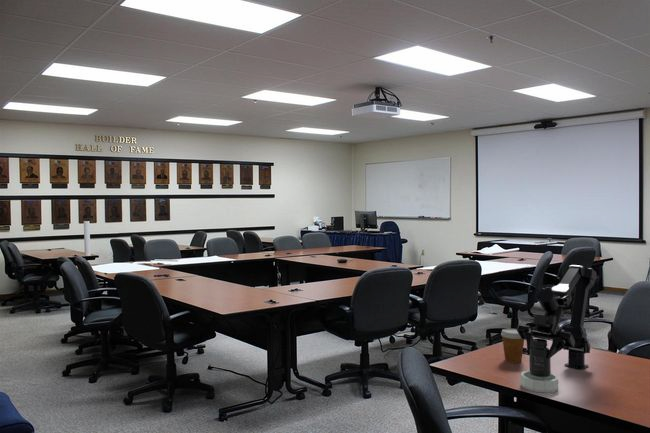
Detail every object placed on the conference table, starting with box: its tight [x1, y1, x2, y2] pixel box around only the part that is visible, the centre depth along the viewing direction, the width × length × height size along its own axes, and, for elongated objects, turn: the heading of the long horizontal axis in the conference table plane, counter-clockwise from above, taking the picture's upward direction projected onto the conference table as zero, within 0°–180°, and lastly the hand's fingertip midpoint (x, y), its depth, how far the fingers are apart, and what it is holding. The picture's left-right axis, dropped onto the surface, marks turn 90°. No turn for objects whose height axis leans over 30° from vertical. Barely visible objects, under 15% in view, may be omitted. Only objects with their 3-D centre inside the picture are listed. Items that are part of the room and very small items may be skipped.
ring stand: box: [520, 370, 559, 394], centre depth 184 cm, size 12×12×4 cm
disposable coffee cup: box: [500, 328, 525, 363], centre depth 216 cm, size 10×10×12 cm
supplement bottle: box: [528, 338, 552, 377], centre depth 184 cm, size 7×7×12 cm
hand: (537, 356), depth 183 cm, fingers closed on supplement bottle, 7 cm apart
